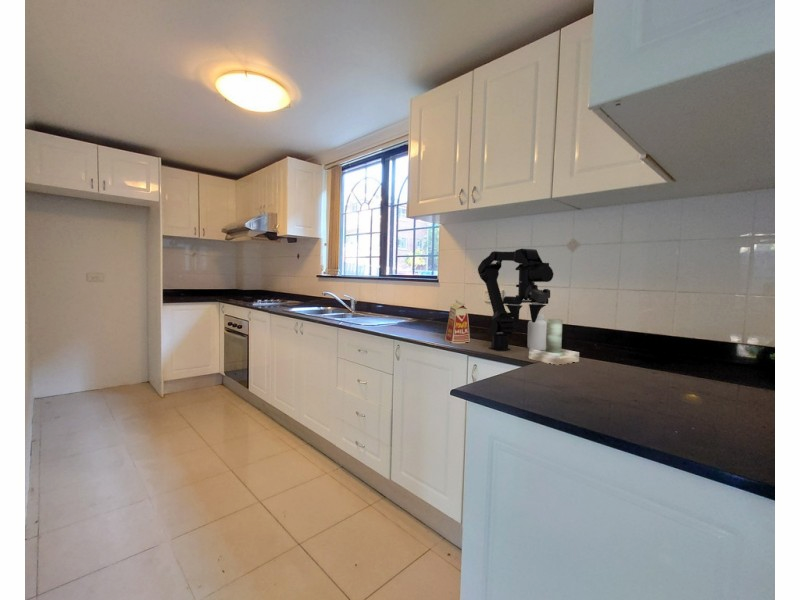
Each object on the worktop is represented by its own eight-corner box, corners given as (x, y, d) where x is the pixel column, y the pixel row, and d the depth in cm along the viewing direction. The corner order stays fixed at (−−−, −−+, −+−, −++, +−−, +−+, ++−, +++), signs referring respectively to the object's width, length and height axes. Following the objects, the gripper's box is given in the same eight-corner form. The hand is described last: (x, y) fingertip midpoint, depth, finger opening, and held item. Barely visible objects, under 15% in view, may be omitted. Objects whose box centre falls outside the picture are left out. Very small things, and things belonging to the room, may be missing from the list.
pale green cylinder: (539, 353, 128) (540, 318, 127) (555, 352, 129) (557, 318, 129) (550, 356, 121) (551, 320, 121) (567, 356, 123) (569, 320, 122)
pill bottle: (528, 346, 153) (529, 313, 152) (547, 348, 149) (548, 314, 148) (526, 349, 146) (527, 314, 145) (546, 351, 142) (547, 315, 141)
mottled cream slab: (528, 358, 128) (529, 349, 128) (550, 355, 133) (550, 346, 133) (556, 365, 117) (557, 355, 117) (578, 361, 123) (579, 352, 123)
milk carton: (444, 340, 165) (445, 299, 164) (461, 340, 168) (462, 299, 167) (453, 344, 156) (454, 300, 155) (471, 343, 159) (472, 300, 158)
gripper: (526, 281, 118) (524, 326, 119) (561, 282, 127) (560, 324, 128) (502, 281, 128) (501, 323, 128) (536, 282, 137) (535, 321, 137)
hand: (525, 322), depth 130 cm, fingers open, 9 cm apart
